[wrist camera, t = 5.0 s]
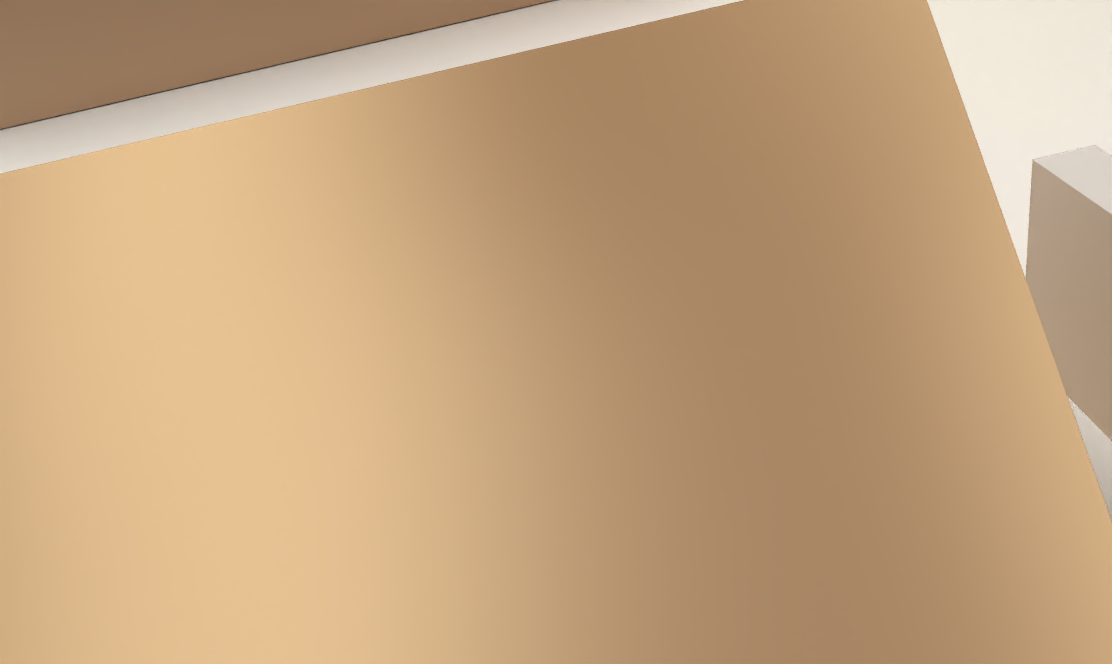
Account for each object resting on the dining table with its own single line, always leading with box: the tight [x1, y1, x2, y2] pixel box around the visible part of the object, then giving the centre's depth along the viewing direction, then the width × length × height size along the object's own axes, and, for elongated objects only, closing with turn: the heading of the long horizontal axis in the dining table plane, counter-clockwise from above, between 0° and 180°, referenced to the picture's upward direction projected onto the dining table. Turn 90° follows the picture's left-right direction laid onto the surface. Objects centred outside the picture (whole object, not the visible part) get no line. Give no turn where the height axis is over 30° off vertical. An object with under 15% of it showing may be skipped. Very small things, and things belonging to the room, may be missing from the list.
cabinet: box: [0, 0, 1112, 664], centre depth 11 cm, size 7×7×11 cm
